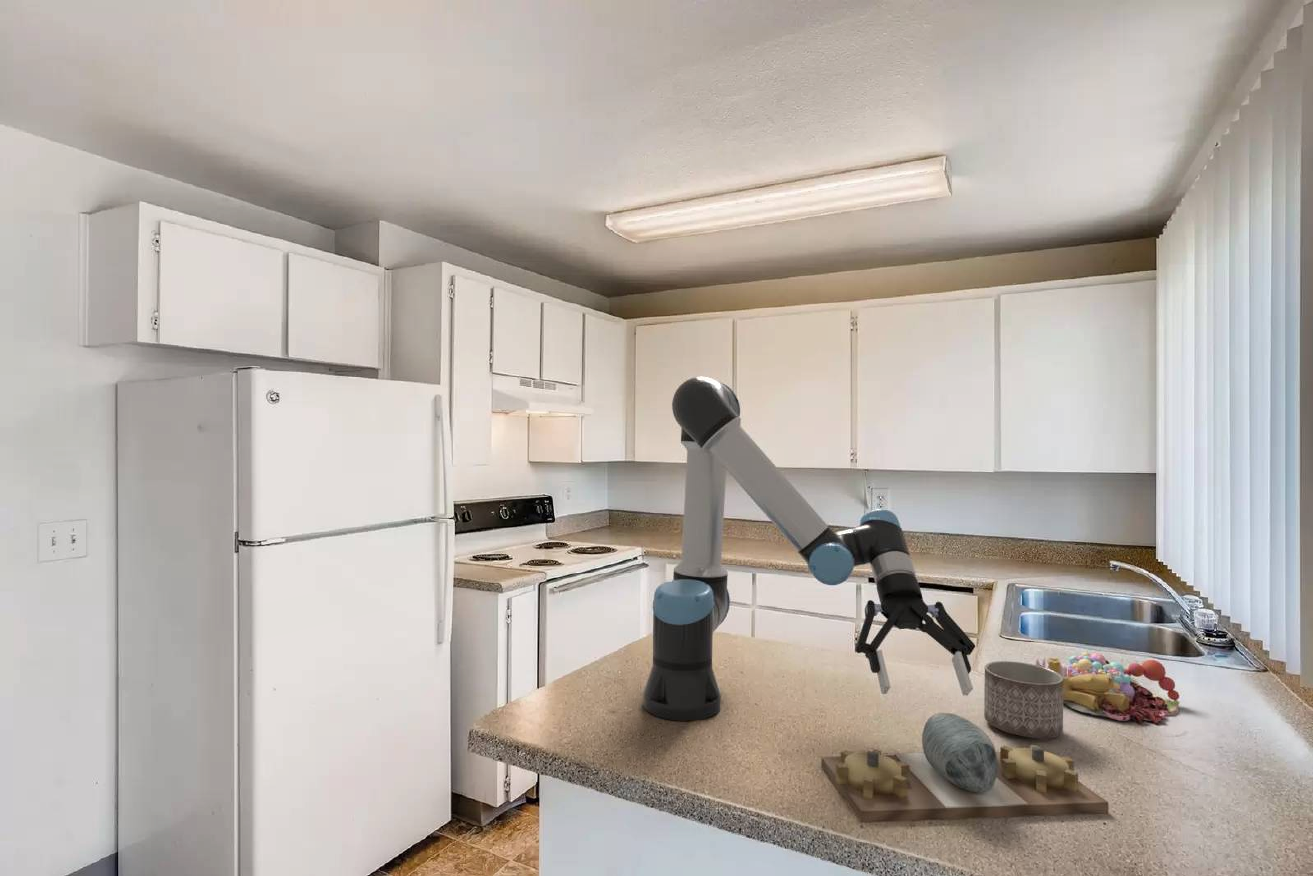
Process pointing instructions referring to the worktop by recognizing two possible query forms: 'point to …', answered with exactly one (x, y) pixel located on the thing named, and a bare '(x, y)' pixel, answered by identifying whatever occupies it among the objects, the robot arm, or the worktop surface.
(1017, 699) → the planter
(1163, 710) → the candy landscape model
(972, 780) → the grey streaked egg
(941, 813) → the gear board
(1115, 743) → the worktop surface
